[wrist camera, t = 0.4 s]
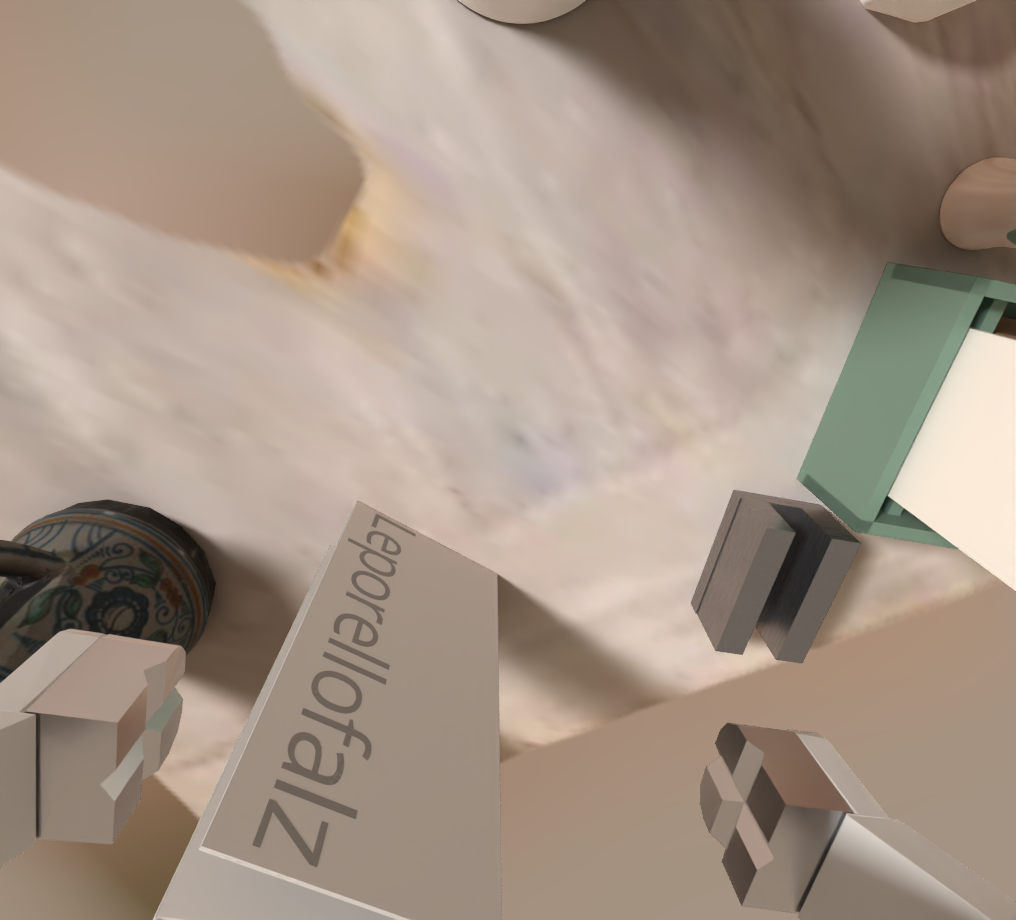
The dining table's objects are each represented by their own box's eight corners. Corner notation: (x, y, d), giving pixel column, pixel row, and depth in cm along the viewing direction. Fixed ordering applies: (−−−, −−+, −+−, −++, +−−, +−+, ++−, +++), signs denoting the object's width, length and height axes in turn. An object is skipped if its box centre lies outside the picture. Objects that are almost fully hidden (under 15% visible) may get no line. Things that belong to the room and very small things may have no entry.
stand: (733, 489, 52) (765, 527, 46) (820, 504, 53) (862, 543, 47) (690, 603, 56) (714, 650, 50) (770, 615, 57) (803, 663, 51)
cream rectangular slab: (895, 308, 45) (1150, 376, 28) (915, 312, 45) (1181, 382, 28) (831, 454, 50) (1015, 591, 32) (849, 457, 50) (1042, 595, 32)
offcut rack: (887, 262, 45) (977, 276, 36) (1056, 298, 46) (1179, 320, 38) (796, 478, 52) (854, 531, 43) (945, 504, 53) (1029, 560, 45)
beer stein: (120, 674, 58) (-123, 982, 35) (-41, 520, 51) (-474, 778, 28) (258, 605, 55) (93, 890, 32) (108, 431, 48) (-238, 639, 26)
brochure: (498, 574, 55) (504, 952, 27) (466, 616, 56) (442, 1012, 29) (357, 500, 51) (201, 845, 24) (328, 547, 53) (152, 920, 26)
